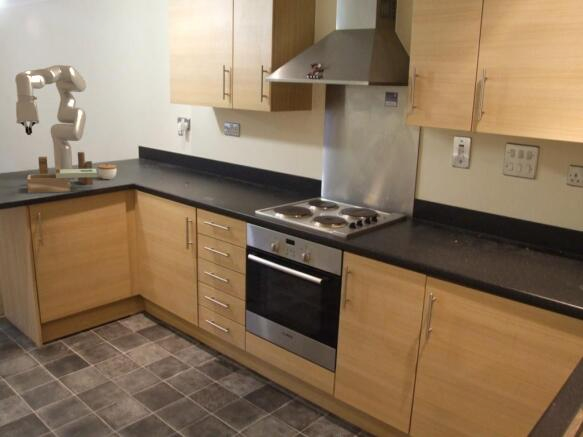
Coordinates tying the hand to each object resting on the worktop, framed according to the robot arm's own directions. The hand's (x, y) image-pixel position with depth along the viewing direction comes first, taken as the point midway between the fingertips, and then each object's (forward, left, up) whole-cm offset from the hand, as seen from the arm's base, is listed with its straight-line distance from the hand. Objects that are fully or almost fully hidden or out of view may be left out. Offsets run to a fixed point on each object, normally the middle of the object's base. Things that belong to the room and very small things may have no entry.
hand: (29, 134), depth 278 cm
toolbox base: (+10, +8, -29) cm, 31 cm away
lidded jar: (-20, +39, -29) cm, 53 cm away
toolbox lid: (+10, +22, -20) cm, 31 cm away
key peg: (-4, +5, -29) cm, 29 cm away
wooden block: (-4, +26, -29) cm, 39 cm away
